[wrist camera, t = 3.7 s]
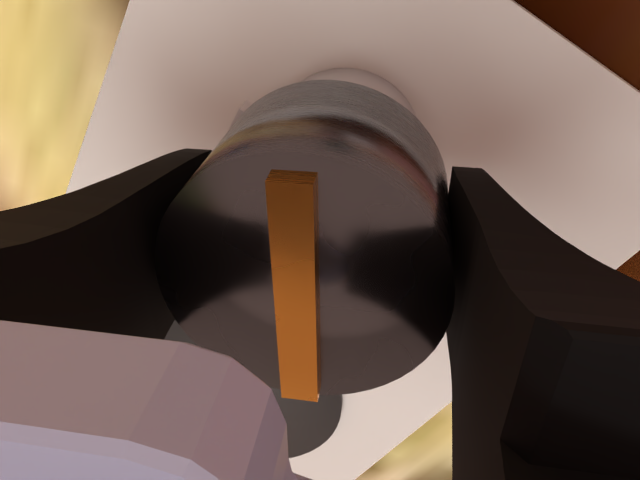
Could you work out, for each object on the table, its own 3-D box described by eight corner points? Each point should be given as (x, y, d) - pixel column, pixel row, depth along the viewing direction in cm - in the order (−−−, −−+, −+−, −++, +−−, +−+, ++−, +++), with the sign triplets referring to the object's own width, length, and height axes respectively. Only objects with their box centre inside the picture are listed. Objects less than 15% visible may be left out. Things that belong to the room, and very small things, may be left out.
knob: (434, 294, 13) (437, 427, 10) (230, 276, 14) (172, 393, 11) (463, 84, 10) (480, 175, 7) (204, 75, 11) (113, 153, 8)
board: (731, 157, 14) (815, 232, 11) (332, 487, 25) (319, 569, 22) (213, -216, 11) (137, -252, 8) (24, 333, 22) (-37, 403, 19)
